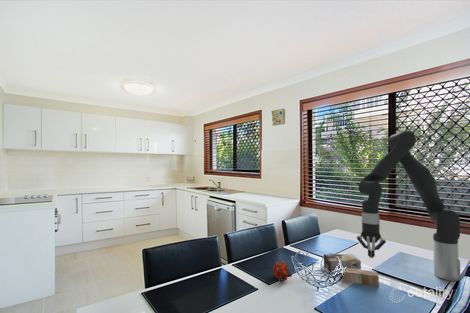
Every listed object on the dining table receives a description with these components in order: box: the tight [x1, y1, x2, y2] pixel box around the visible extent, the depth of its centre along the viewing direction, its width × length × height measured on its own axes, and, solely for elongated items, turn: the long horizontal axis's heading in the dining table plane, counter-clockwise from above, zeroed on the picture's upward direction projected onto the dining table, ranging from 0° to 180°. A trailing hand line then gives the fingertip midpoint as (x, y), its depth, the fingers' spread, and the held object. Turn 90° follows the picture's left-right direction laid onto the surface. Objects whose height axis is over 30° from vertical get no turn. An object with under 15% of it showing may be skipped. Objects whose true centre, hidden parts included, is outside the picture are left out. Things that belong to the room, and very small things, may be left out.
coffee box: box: [323, 253, 362, 273], centre depth 129 cm, size 9×6×16 cm
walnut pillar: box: [341, 268, 380, 287], centre depth 116 cm, size 5×5×15 cm
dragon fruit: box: [272, 260, 293, 282], centre depth 120 cm, size 8×8×12 cm
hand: (371, 257), depth 119 cm, fingers closed
